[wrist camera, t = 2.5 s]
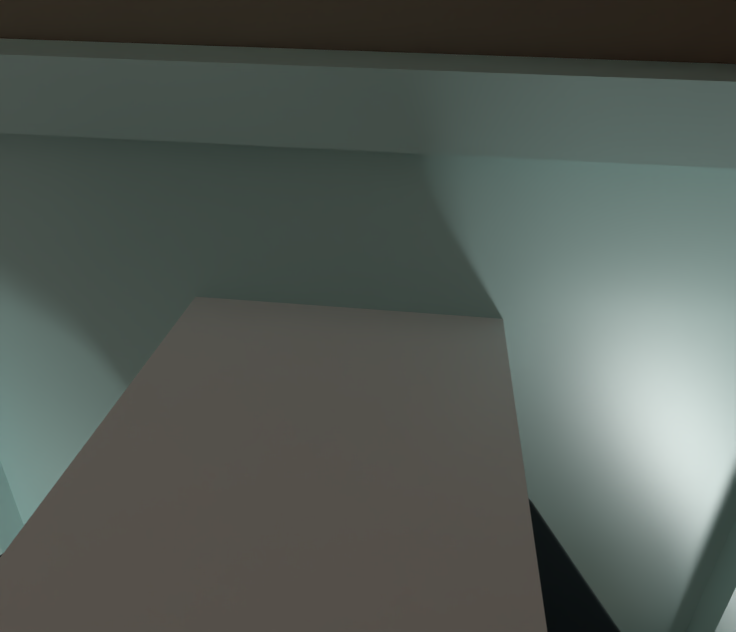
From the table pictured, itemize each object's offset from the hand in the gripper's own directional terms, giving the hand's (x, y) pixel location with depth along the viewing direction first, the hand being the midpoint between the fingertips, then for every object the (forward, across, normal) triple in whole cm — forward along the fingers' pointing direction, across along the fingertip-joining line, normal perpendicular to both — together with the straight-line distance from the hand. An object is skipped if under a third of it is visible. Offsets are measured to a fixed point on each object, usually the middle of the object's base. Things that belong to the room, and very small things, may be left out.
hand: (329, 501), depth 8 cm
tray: (+2, 0, 0) cm, 2 cm away
